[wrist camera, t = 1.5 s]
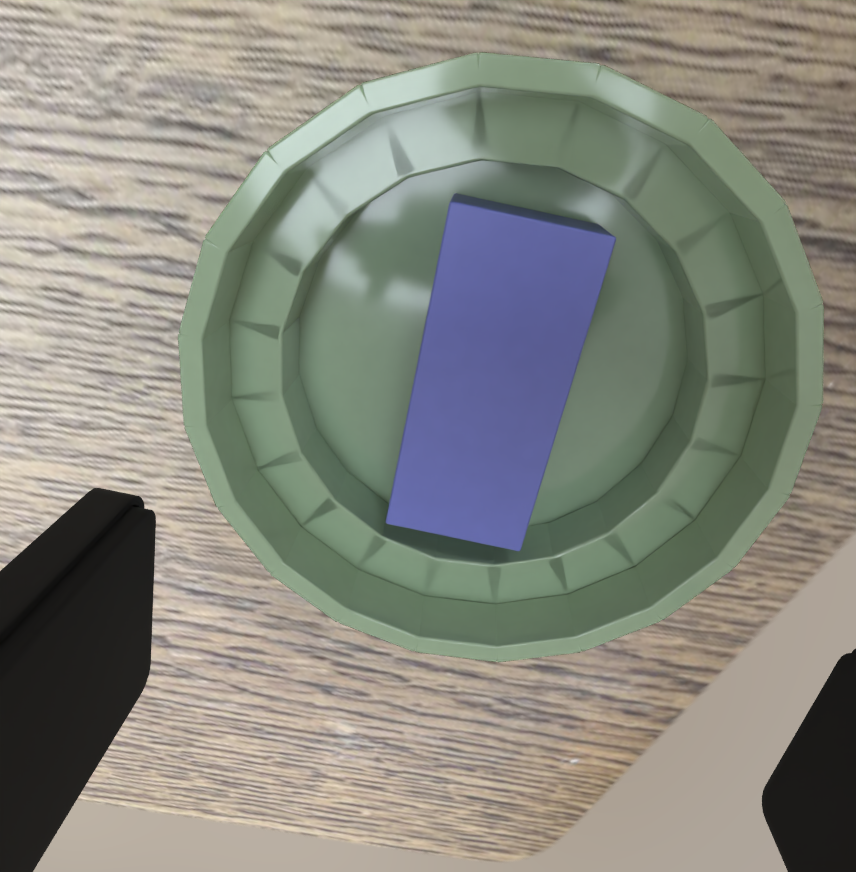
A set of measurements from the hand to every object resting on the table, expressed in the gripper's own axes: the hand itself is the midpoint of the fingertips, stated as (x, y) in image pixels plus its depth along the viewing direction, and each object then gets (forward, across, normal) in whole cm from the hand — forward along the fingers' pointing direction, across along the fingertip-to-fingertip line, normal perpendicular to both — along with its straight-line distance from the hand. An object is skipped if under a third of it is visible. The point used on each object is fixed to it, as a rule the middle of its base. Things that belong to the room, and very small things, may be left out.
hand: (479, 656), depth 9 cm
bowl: (+12, 0, 0) cm, 12 cm away
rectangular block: (+12, 0, 0) cm, 12 cm away
